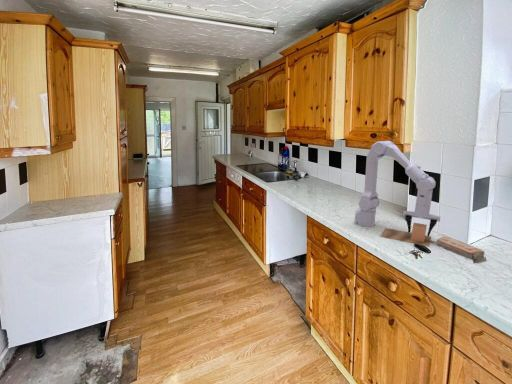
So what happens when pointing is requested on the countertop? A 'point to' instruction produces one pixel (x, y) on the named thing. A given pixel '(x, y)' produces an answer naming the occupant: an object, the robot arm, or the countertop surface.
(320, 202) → the countertop surface
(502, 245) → the countertop surface
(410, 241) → the board
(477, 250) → the packaged product
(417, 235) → the orange rectangular block
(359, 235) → the countertop surface
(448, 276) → the countertop surface
